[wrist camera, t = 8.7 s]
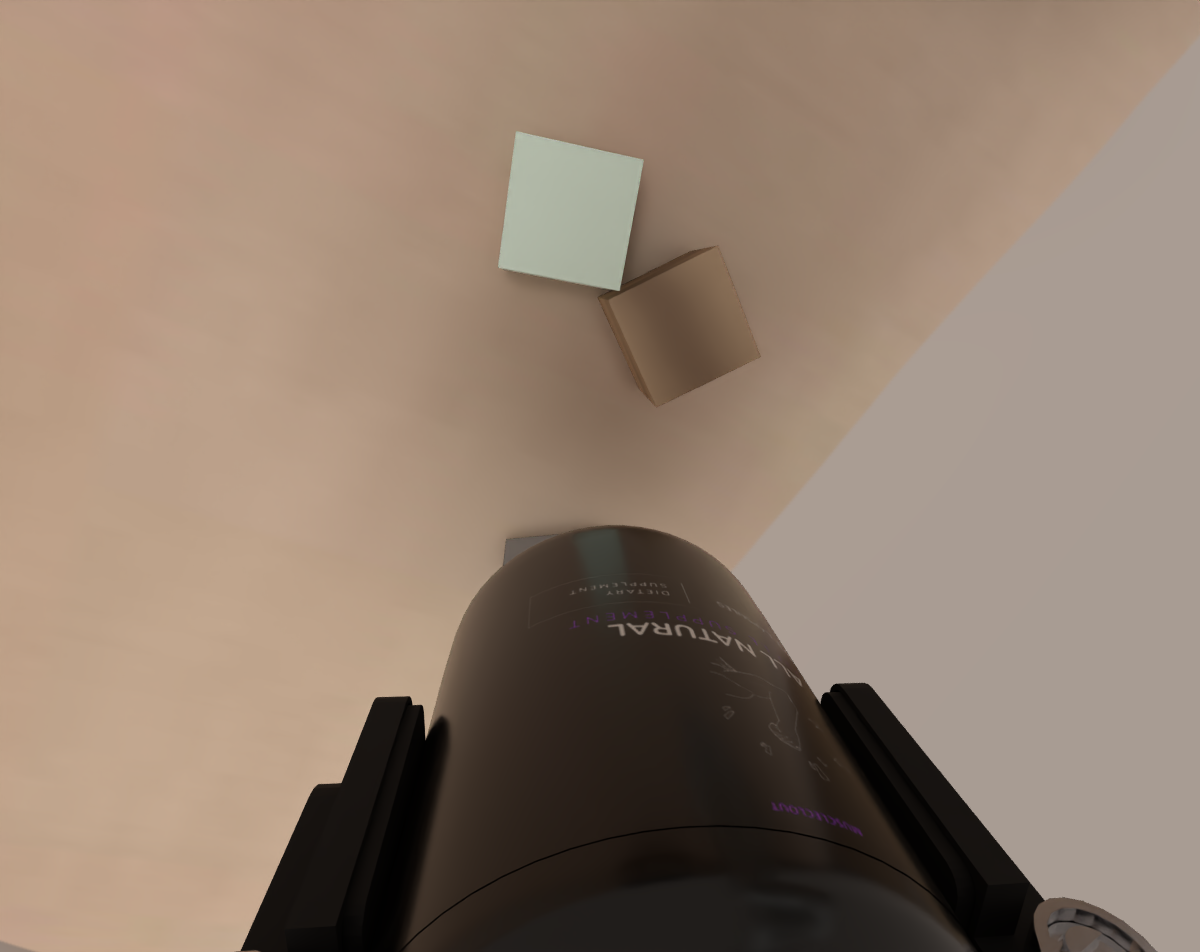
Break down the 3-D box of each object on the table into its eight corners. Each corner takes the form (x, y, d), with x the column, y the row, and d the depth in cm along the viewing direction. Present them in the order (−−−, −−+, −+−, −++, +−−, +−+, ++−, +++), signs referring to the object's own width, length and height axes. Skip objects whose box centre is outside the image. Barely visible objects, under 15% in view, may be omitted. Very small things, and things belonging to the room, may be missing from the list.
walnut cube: (690, 251, 31) (717, 245, 26) (727, 345, 32) (760, 356, 28) (597, 297, 31) (607, 300, 26) (639, 389, 33) (656, 407, 28)
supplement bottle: (722, 473, 13) (2009, 1827, 2) (779, 736, 15) (1518, 2127, 4) (400, 566, 13) (-598, 2656, 2) (502, 816, 15) (394, 2485, 4)
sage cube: (626, 179, 30) (643, 159, 25) (607, 289, 31) (619, 290, 26) (519, 156, 29) (516, 131, 24) (504, 269, 30) (497, 267, 25)
